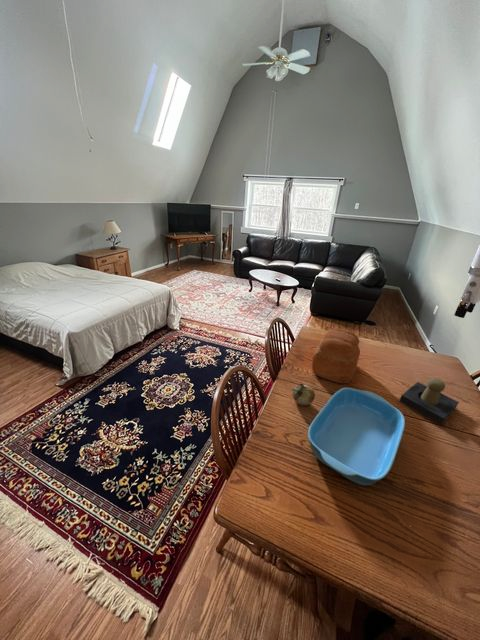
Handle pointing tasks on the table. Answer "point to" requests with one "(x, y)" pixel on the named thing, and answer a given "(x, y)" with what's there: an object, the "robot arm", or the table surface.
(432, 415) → the socket pad
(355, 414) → the casserole dish
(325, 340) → the bread
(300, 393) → the onion
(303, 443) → the table surface
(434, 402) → the cork
